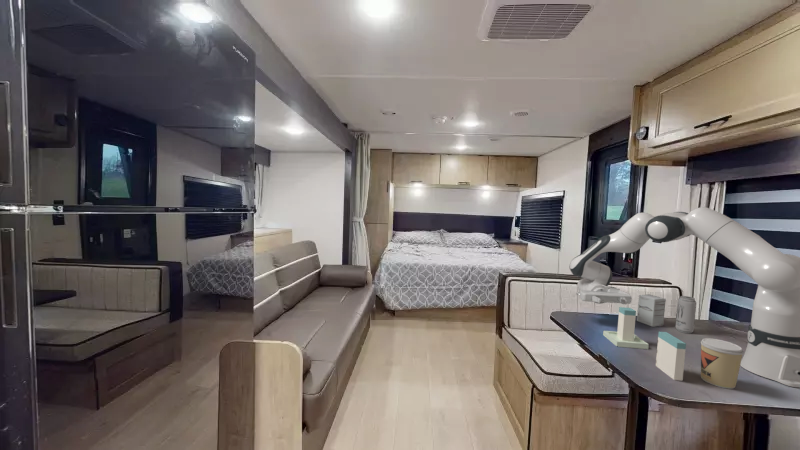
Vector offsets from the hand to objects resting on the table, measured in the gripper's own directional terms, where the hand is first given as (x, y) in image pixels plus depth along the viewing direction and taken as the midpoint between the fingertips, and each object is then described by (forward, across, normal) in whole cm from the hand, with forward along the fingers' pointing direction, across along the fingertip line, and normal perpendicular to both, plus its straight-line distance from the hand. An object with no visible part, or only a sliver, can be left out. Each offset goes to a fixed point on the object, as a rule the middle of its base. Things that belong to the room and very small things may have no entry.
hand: (613, 301), depth 140 cm
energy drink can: (-7, +32, +13) cm, 36 cm away
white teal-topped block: (+12, 0, +12) cm, 16 cm away
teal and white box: (+35, +1, +13) cm, 38 cm away
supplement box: (-14, +23, +13) cm, 30 cm away
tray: (+12, 0, +13) cm, 17 cm away
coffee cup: (+38, +13, +14) cm, 43 cm away
